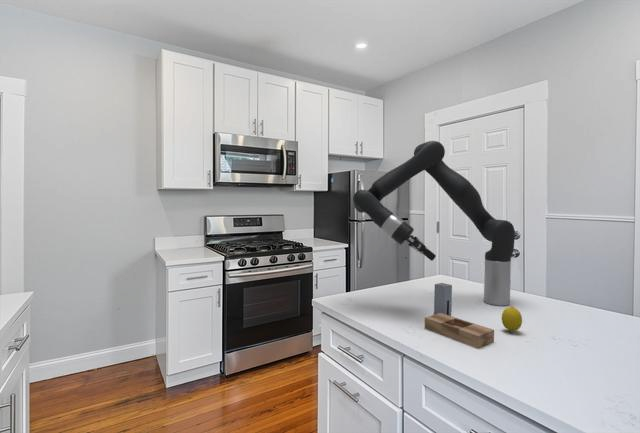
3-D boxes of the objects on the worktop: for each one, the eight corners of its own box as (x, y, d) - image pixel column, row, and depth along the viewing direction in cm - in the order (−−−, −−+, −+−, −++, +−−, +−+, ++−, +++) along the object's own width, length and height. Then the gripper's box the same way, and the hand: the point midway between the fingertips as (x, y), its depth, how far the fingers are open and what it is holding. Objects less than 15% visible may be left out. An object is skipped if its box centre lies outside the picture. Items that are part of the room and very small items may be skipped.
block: (441, 316, 120) (441, 282, 119) (451, 319, 116) (452, 285, 116) (433, 318, 117) (434, 284, 117) (444, 322, 114) (444, 286, 114)
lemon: (524, 336, 103) (525, 309, 102) (504, 334, 104) (505, 308, 103) (517, 329, 108) (518, 304, 108) (498, 328, 109) (499, 303, 109)
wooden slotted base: (440, 323, 113) (440, 312, 113) (493, 341, 98) (494, 329, 98) (424, 328, 108) (424, 317, 108) (478, 348, 94) (478, 335, 94)
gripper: (402, 218, 116) (441, 249, 111) (405, 223, 130) (440, 251, 124) (388, 235, 117) (426, 266, 112) (392, 238, 130) (427, 266, 125)
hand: (434, 258), depth 118 cm, fingers open, 8 cm apart
